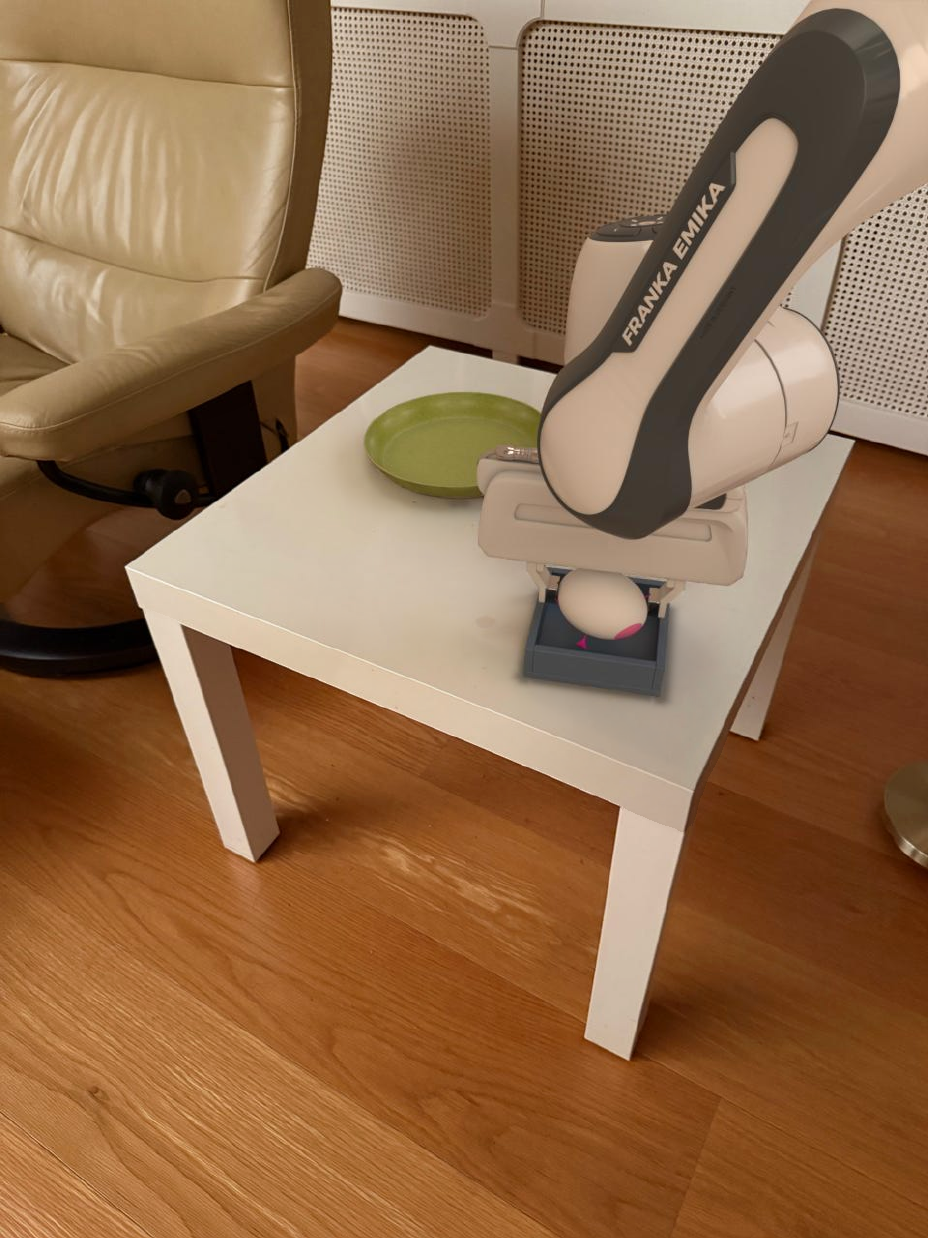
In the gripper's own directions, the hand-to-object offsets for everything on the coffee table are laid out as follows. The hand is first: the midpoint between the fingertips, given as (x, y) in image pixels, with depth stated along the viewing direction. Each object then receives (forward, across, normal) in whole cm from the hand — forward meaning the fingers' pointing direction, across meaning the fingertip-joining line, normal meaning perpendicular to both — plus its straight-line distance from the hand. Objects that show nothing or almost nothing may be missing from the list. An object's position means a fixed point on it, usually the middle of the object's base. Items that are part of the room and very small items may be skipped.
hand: (602, 605), depth 71 cm
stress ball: (+2, 0, 0) cm, 2 cm away
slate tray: (+4, 0, 0) cm, 4 cm away
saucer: (+4, -18, +27) cm, 32 cm away
